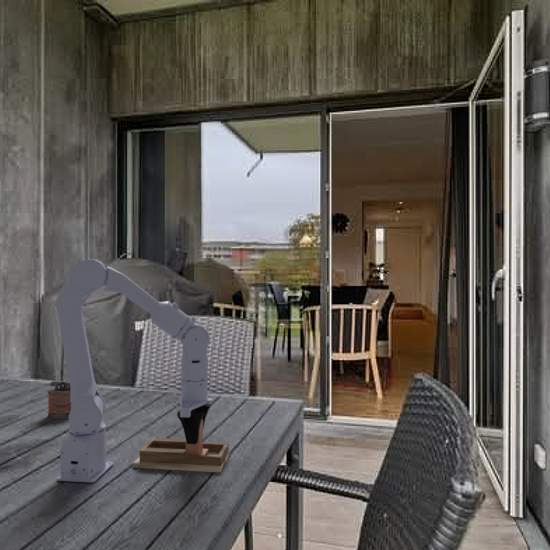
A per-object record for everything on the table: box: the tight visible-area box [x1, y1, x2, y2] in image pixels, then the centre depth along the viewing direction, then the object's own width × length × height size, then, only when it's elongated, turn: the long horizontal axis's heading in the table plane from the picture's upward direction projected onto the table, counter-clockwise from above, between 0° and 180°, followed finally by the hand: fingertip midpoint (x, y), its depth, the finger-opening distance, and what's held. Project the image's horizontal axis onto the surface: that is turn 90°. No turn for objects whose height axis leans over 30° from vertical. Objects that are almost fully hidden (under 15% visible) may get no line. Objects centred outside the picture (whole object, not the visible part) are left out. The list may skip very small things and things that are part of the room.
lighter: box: [47, 379, 71, 419], centre depth 145 cm, size 8×3×10 cm, turn 92°
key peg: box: [185, 419, 208, 455], centre depth 113 cm, size 5×5×8 cm
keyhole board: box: [132, 437, 231, 473], centre depth 113 cm, size 10×19×3 cm, turn 83°
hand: (194, 440), depth 113 cm, fingers closed on key peg, 3 cm apart
